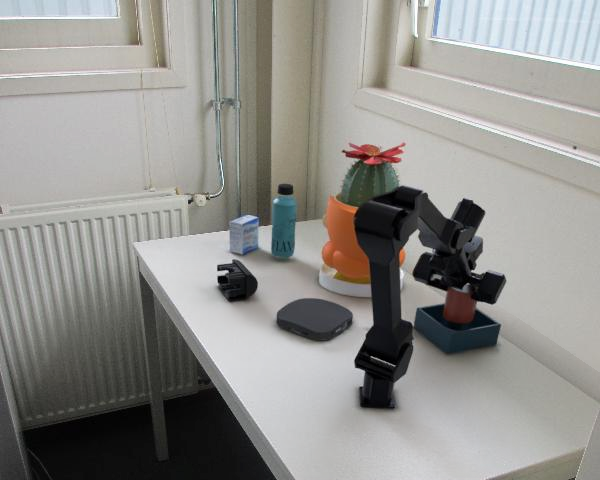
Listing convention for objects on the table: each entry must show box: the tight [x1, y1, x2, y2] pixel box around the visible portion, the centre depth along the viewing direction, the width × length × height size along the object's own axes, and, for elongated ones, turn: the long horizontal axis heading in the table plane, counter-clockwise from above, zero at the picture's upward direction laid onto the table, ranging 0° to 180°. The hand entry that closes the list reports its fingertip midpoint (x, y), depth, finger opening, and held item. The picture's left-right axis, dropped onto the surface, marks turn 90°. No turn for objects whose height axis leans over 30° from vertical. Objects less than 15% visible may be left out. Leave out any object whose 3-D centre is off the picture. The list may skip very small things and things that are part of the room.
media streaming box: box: [275, 297, 354, 341], centre depth 152 cm, size 15×15×3 cm
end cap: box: [216, 258, 259, 303], centre depth 162 cm, size 10×7×7 cm
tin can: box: [441, 277, 478, 331], centre depth 147 cm, size 7×7×11 cm
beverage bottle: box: [270, 183, 298, 258], centre depth 179 cm, size 6×7×20 cm
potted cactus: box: [318, 141, 407, 298], centre depth 162 cm, size 22×22×35 cm
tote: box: [413, 302, 502, 355], centre depth 150 cm, size 13×13×5 cm
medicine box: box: [228, 214, 260, 256], centre depth 186 cm, size 8×4×9 cm, turn 148°
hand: (464, 295), depth 147 cm, fingers closed on tin can, 7 cm apart
